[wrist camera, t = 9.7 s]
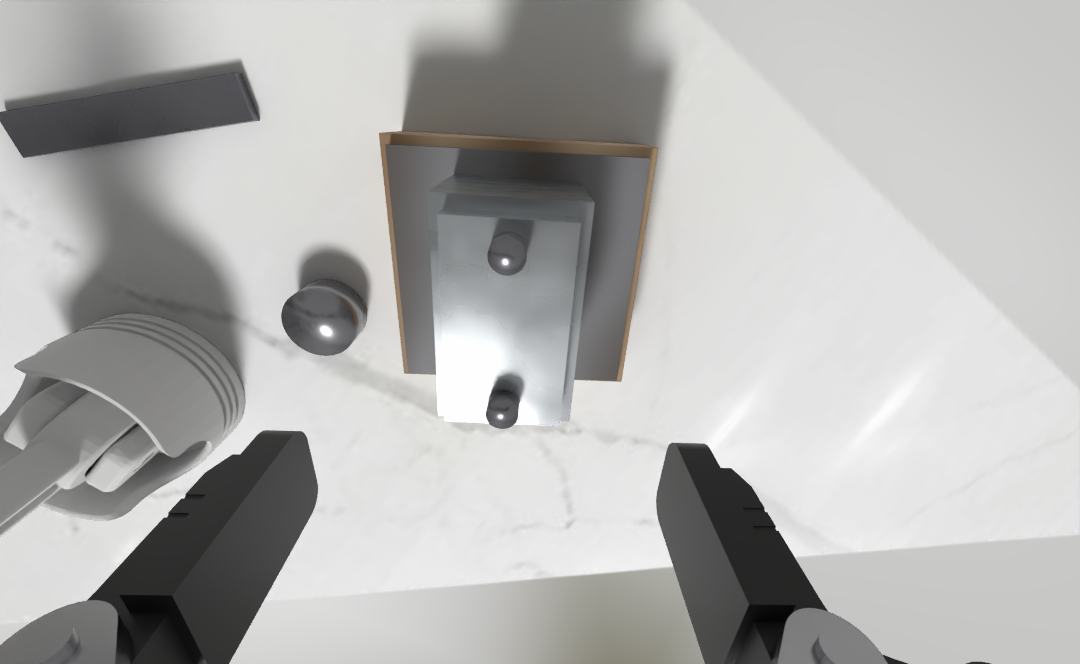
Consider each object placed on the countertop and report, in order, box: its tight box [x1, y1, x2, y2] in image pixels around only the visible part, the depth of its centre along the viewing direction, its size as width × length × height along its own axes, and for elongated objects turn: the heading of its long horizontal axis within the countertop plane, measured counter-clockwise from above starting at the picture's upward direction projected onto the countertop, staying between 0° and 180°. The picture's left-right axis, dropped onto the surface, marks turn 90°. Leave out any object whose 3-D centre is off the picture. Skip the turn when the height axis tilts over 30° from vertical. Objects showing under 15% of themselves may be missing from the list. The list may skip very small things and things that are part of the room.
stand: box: [379, 131, 658, 382], centre depth 22 cm, size 12×12×4 cm
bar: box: [0, 73, 260, 158], centre depth 21 cm, size 12×2×1 cm, turn 98°
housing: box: [427, 174, 595, 429], centre depth 18 cm, size 9×6×7 cm, turn 176°
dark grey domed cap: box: [281, 279, 367, 356], centre depth 25 cm, size 4×4×2 cm
